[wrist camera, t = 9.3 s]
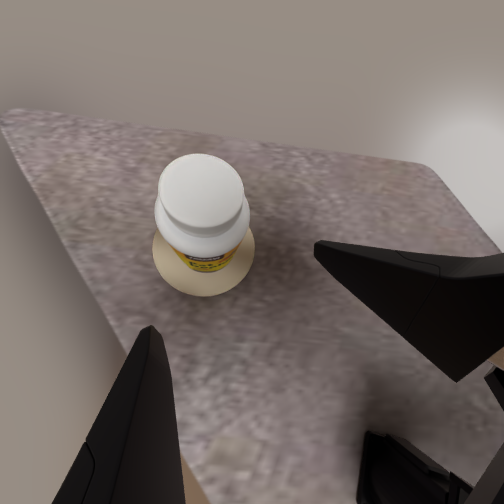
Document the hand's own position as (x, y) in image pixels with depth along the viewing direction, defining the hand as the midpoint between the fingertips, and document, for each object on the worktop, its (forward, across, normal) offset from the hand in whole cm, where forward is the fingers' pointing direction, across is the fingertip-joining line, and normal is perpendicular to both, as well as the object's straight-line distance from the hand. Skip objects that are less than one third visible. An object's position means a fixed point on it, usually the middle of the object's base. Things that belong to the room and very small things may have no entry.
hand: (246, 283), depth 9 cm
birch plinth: (+12, 0, +5) cm, 13 cm away
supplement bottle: (+10, 0, +3) cm, 10 cm away
